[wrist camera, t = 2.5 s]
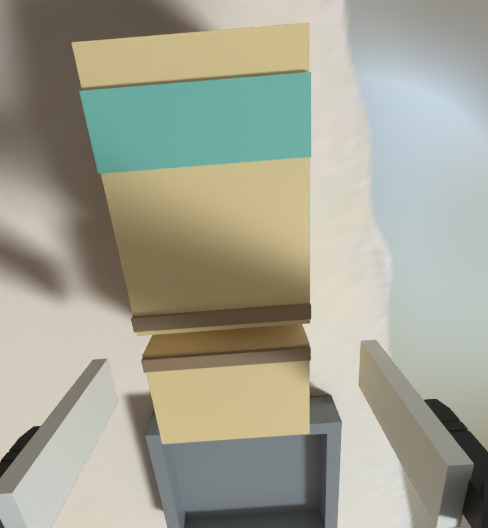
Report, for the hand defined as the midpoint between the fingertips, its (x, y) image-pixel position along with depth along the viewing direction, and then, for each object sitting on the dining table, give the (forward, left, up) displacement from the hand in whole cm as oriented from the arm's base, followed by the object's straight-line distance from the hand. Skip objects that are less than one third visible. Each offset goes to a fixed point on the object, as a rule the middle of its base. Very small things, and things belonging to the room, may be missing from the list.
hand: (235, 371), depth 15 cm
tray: (+14, 0, -6) cm, 15 cm away
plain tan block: (0, 0, -6) cm, 6 cm away
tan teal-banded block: (-9, 0, -6) cm, 11 cm away
